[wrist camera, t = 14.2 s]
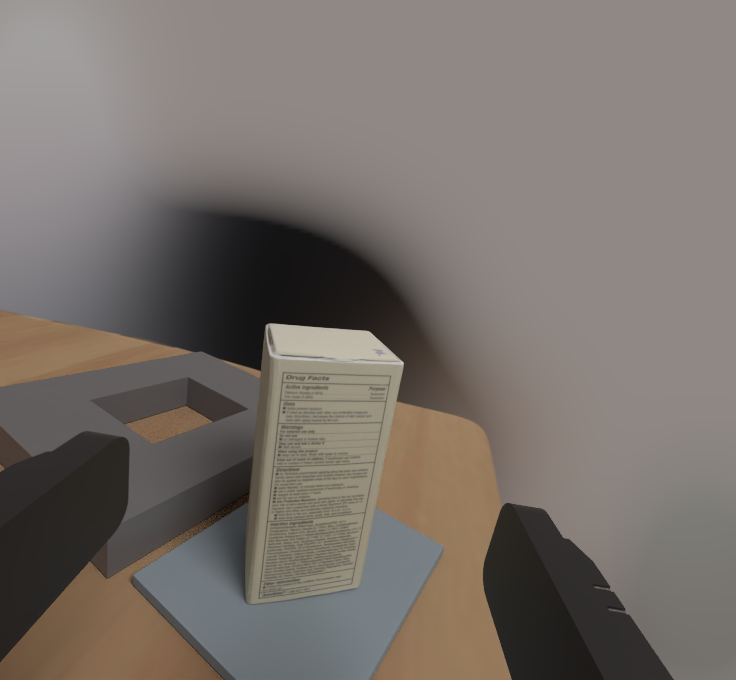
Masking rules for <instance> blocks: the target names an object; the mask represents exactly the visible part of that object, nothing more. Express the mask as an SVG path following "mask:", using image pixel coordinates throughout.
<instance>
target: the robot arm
mask: <svg viewBox="0 0 736 680" xmlns="http://www.w3.org/2000/svg"><path fill="white" fill-rule="evenodd" d="M129 456H130V446H129V442H128V440H127V439H126V438H125V437H120V436H114V435H109V434H103V433H97V432H91V431H84V432H81V433H79V434H78V435H76V436H75V437H73V438H72V439H70V440H68V441H67V442H65V443H64V444H62V445H61V446H59V447H58V448H56V449H55V450H53V451H52V452H51V451H47V452H44V453H41V454H39V455H36V456H33V457H31V458H28V459H26V460H23V461H20V462H18V463H15V464H13V465H11V466H9V467H8V468H6V469H5V470H3V471H1V472H0V662H1V661H2V659H3V658H4V657H5V656H6V655H7V654H8V653H9V652H10V650H11V649H12V648H13V647H14V646H15V645H16V644H17V642H18V641H19V640H20V639H21V638H22V637H23V636H24V635H25V633H26V632H27V631H28V630H29V629H30V628H31V627H32V626H33V624H34V623H35V622H36V621H37V620H38V619H39V618H40V617H41V615H42V614H43V613H44V612H45V611H46V610H47V609H48V608H49V606H50V605H51V604H52V603H53V602H54V601H55V600H56V599H57V597H58V596H59V595H60V594H61V593H62V592H63V591H64V590H65V588H66V587H67V586H68V585H69V584H70V583H71V582H72V580H73V579H74V578H75V577H76V576H77V575H78V574H79V573H80V571H81V570H82V569H83V568H84V567H85V566H86V565H87V564H88V562H89V561H90V560H91V559H92V558H93V557H94V556H95V555H96V553H97V552H98V551H99V550H100V549H101V548H102V547H103V546H104V544H105V543H106V542H107V541H108V540H109V539H110V538H111V537H112V535H113V534H114V533H115V532H116V530H117V529H118V527H119V526H120V524H121V522H122V520H123V518H124V515H125V512H126V509H127V505H128V494H129ZM483 585H484V591H485V595H486V599H487V602H488V605H489V608H490V611H491V615H492V618H493V621H494V624H495V627H496V630H497V634H498V637H499V640H500V643H501V646H502V650H503V653H504V656H505V659H506V662H507V665H508V669H509V672H510V675H511V678H512V680H674V679H673V678H672V677H671V675H670V674H669V672H668V671H667V669H666V668H665V666H664V665H663V663H662V662H661V660H660V659H659V657H658V656H657V655H656V653H655V652H654V650H653V649H652V648H651V646H650V644H649V643H648V641H647V640H646V639H645V637H644V635H643V634H642V633H641V631H640V630H639V628H638V627H637V625H636V624H635V622H634V621H633V619H632V618H631V616H630V615H627V614H626V613H625V608H624V606H623V605H622V603H621V602H620V601H619V599H618V597H617V596H616V595H615V593H614V592H611V591H610V586H609V584H608V583H607V581H606V580H605V578H604V577H603V576H602V574H601V573H600V571H599V570H598V568H597V567H596V565H595V564H594V562H593V561H592V560H591V559H590V558H589V557H587V555H585V554H584V553H583V552H582V551H581V550H580V549H579V548H578V547H577V546H576V545H575V544H574V543H573V542H571V541H570V540H569V539H565V538H563V537H562V535H561V534H560V532H559V531H558V529H557V528H556V526H555V525H554V523H553V521H552V520H551V518H550V517H549V515H548V514H547V512H546V511H545V510H543V509H540V508H534V507H528V506H522V505H516V504H510V503H506V504H505V505H504V506H503V507H502V509H501V511H500V514H499V517H498V520H497V523H496V526H495V529H494V533H493V536H492V539H491V542H490V545H489V548H488V551H487V555H486V558H485V561H484V568H483Z"/></svg>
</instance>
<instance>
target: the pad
mask: <svg viewBox="0 0 736 680" xmlns="http://www.w3.org/2000/svg"><path fill="white" fill-rule="evenodd" d="M248 504H249V502H247V503H246V504H244V505H242V506H241V507H239V508H238V509H236V510H234V511H233V512H231V513H230V514H228V515H227V516H225V517H223V518H222V519H220V520H219V521H217V522H216V523H214V524H212V525H211V526H209V527H208V528H206V529H204V530H203V531H201V532H200V533H198V534H197V535H195V536H193V537H192V538H190V539H189V540H187V541H186V542H184V543H182V544H181V545H179V546H178V547H176V548H174V549H173V550H171V551H170V552H168V553H167V554H165V555H163V556H162V557H160V558H159V559H157V560H155V561H154V562H152V563H151V564H149V565H148V566H146V567H144V568H143V569H141V570H140V571H138V572H137V573H135V574H133V585H134V586H135V587H136V588H137V589H138V590H139V592H140V593H141V594H142V595H143V596H144V597H145V598H146V599H147V600H148V601H149V602H150V603H151V604H152V605H153V606H154V607H155V608H156V609H157V610H158V611H159V612H160V613H161V614H162V615H163V616H164V617H165V618H166V620H167V621H168V622H169V623H170V624H171V625H172V626H173V627H174V628H175V629H176V630H177V631H178V632H179V633H180V634H181V635H182V636H183V637H184V638H185V639H186V640H187V641H188V642H189V643H190V644H191V645H192V646H193V647H194V649H195V650H196V651H197V652H198V653H199V654H200V655H201V656H202V657H203V658H204V659H205V660H206V661H207V662H208V663H209V664H210V665H211V666H212V667H213V668H214V669H215V670H216V671H217V672H218V673H219V674H220V675H221V676H222V678H223V679H224V680H371V679H372V678H373V676H374V674H375V672H376V671H377V669H378V667H379V665H380V664H381V662H382V660H383V658H384V656H385V655H386V653H387V651H388V649H389V648H390V646H391V644H392V642H393V640H394V639H395V637H396V635H397V633H398V632H399V630H400V628H401V626H402V625H403V623H404V621H405V619H406V617H407V616H408V614H409V612H410V610H411V609H412V607H413V605H414V603H415V602H416V600H417V598H418V596H419V594H420V593H421V591H422V589H423V587H424V586H425V584H426V582H427V580H428V578H429V577H430V575H431V573H432V571H433V570H434V568H435V566H436V564H437V563H438V561H439V559H440V557H441V555H442V553H443V550H444V546H442V545H440V544H439V543H437V542H435V541H433V540H432V539H430V538H428V537H426V536H425V535H423V534H421V533H419V532H418V531H416V530H414V529H412V528H411V527H409V526H407V525H405V524H404V523H402V522H400V521H398V520H397V519H395V518H393V517H391V516H390V515H388V514H386V513H384V512H383V511H381V510H379V509H377V508H375V510H374V516H373V521H372V526H371V531H370V536H369V542H368V547H367V552H366V557H365V562H364V567H363V572H362V577H361V582H360V585H359V587H358V588H354V589H348V590H342V591H338V592H334V593H328V594H322V595H314V596H308V597H302V598H297V599H291V600H285V601H278V602H269V603H259V604H248V603H247V602H246V592H245V545H246V525H247V515H248Z"/></svg>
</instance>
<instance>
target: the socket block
mask: <svg viewBox="0 0 736 680" xmlns="http://www.w3.org/2000/svg"><path fill="white" fill-rule="evenodd" d="M259 388H260V378H258V377H255V376H253V375H251V374H249V373H247V372H245V371H242V370H240V369H238V368H236V367H234V366H232V365H230V364H227V363H225V362H223V361H221V360H219V359H217V358H214V357H212V356H210V355H208V354H206V353H204V352H196V353H190V354H185V355H179V356H173V357H168V358H162V359H156V360H151V361H145V362H140V363H134V364H128V365H123V366H117V367H111V368H106V369H100V370H94V371H89V372H83V373H77V374H72V375H66V376H61V377H55V378H49V379H44V380H38V381H32V382H27V383H21V384H15V385H10V386H4V387H0V463H1V464H2V465H3V466H4V467H5V469H6V468H8V467H9V466H11V465H13V464H15V463H18V462H20V461H23V460H26V459H28V458H31V457H33V456H36V455H39V454H41V453H44V452H47V451H51V452H52V451H53V450H55V449H56V448H58V447H59V446H61V445H62V444H64V443H65V442H67V441H68V440H70V439H72V438H73V437H75V436H76V435H78V434H79V433H81V432H84V431H91V432H97V433H103V434H109V435H114V436H120V437H125V438H126V439H127V440H128V442H129V446H130V456H129V494H128V505H127V509H126V512H125V515H124V518H123V520H122V522H121V524H120V526H119V527H118V529H117V530H116V532H115V533H114V534H113V535H112V537H111V538H110V539H109V540H108V541H107V542H106V543H105V544H104V546H103V547H102V548H101V549H100V550H99V551H98V552H97V553H96V555H95V556H94V557H93V558H92V559H91V560H90V561H91V562H92V563H93V564H94V565H95V566H96V567H97V568H98V569H99V570H100V571H101V573H102V574H103V575H104V576H105V577H106V578H109V577H111V576H112V575H114V574H115V573H117V572H119V571H120V570H122V569H124V568H125V567H127V566H129V565H130V564H132V563H134V562H135V561H137V560H139V559H140V558H142V557H143V556H145V555H147V554H148V553H150V552H152V551H153V550H155V549H157V548H158V547H160V546H162V545H163V544H165V543H167V542H168V541H170V540H171V539H173V538H175V537H176V536H178V535H180V534H181V533H183V532H185V531H186V530H188V529H190V528H191V527H193V526H195V525H196V524H198V523H199V522H201V521H203V520H204V519H206V518H208V517H209V516H211V515H213V514H214V513H216V512H218V511H219V510H221V509H222V508H224V507H226V506H227V505H229V504H231V503H232V502H234V501H236V500H237V499H239V498H241V497H242V496H244V495H246V494H247V493H249V492H250V484H251V474H252V464H253V453H254V442H255V431H256V420H257V410H258V399H259ZM185 405H187V406H188V407H190V408H192V409H194V410H195V411H197V412H199V413H200V414H202V415H204V416H206V417H207V418H209V419H211V420H212V421H214V422H212V423H210V424H207V425H204V426H201V427H199V428H196V429H193V430H191V431H188V432H185V433H182V434H180V435H177V436H174V437H172V438H169V439H166V440H163V441H161V442H158V443H155V444H151V443H150V442H148V441H147V440H146V439H144V438H143V437H141V436H140V435H138V434H137V433H136V432H134V431H133V430H131V429H130V428H129V427H127V426H126V425H124V424H126V423H129V422H132V421H136V420H139V419H142V418H146V417H149V416H152V415H156V414H159V413H162V412H165V411H169V410H172V409H175V408H179V407H182V406H185Z"/></svg>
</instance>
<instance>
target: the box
mask: <svg viewBox="0 0 736 680" xmlns="http://www.w3.org/2000/svg"><path fill="white" fill-rule="evenodd" d="M403 364H404V363H403V362H402V361H401V360H400V359H399V358H398V357H396V356H395V355H394V354H393V353H392V352H391V351H390V350H389V349H388V348H387V347H386V346H385V345H383V344H382V343H381V342H380V341H379V340H378V339H377V338H376V337H375V336H374V335H373V334H372V333H370V332H369V331H358V330H344V329H331V328H318V327H306V326H294V325H281V324H267V325H266V327H265V336H264V346H263V356H262V368H261V377H260V388H259V399H258V410H257V420H256V431H255V442H254V453H253V464H252V474H251V484H250V494H249V504H248V515H247V525H246V545H245V592H246V602H247V603H248V604H259V603H269V602H278V601H285V600H291V599H297V598H302V597H308V596H314V595H322V594H328V593H334V592H338V591H342V590H348V589H354V588H358V587H359V585H360V582H361V577H362V572H363V567H364V562H365V557H366V552H367V547H368V542H369V536H370V531H371V526H372V521H373V516H374V510H375V505H376V501H377V496H378V491H379V485H380V480H381V475H382V470H383V465H384V460H385V455H386V450H387V445H388V440H389V435H390V430H391V425H392V420H393V415H394V410H395V405H396V400H397V395H398V390H399V385H400V380H401V376H402V371H403Z"/></svg>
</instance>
